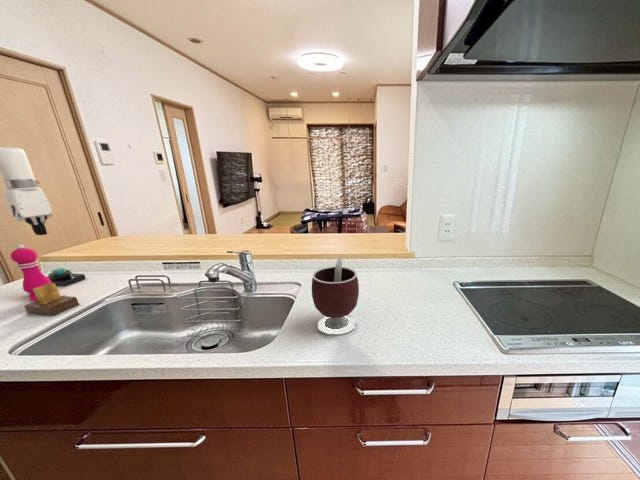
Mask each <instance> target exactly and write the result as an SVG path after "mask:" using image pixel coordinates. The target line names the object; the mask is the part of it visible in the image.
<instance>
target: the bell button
mask: <svg viewBox="0 0 640 480" xmlns="http://www.w3.org/2000/svg"><path fill="white" fill-rule="evenodd" d="M65 270H66V269H65V268H64V267H60V268H55V269H52V270H51V273H52V272H53V274H54V275H58V274H63V273H66V271H65Z"/></svg>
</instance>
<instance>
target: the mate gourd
mask: <svg viewBox="0 0 640 480" xmlns="http://www.w3.org/2000/svg"><path fill="white" fill-rule="evenodd" d="M342 261H343V256H342V255H339V258H338V259H337V262H336V263H335V266H328V267H327V266H326V267H323V268H320V269H317V270H316V271H314V272H313V273H312V279H311V296H312V301H313V305H314V308H315V310H317V311H318V312H319V313H320V314H321V315H322V316H323V317H324V316H326V317H330V318H328V319H326V321H325V326H326V327H328V328H331V329H340V328H343V327H345V326H347V325H348V323H347V322H349V321H348V319H347V318H345V317H344V316H346V315H350V314H351V313H352V312H353V311H354V309H355V308H356V307H357V305H358V302H359V294H360V284H359V279H358V273H357V271H356V270H354V269H352V268H349V267H344V266H343V264H342ZM345 319H346V320H345ZM316 328H317V329H316V330H317V331H318V332H319V333H320V334H323V335H325V336H330V337H341V336H346V335H348V334H350V333H352V332H353V331H354V330H355V329H356V328H357V325H356V326H355V328H354V329H352V330H351V331H349V332H347V333H343V334H327V333H324V332H322V331H320V330H319V329H318V327H317V326H316Z"/></svg>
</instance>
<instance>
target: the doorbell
mask: <svg viewBox="0 0 640 480" xmlns="http://www.w3.org/2000/svg"><path fill="white" fill-rule="evenodd" d="M65 271H66V273H63V274H58V275H54V274H53V272H52V271H51V272H49V273H48V276H46V277H47V278H49V279H50V280H51V282H52V283H55V285H56V287H63V288H64V287H68V286H71V285H73V284H77V283H79V282H82V281H84V280H86V279H87V278H86V276H85V274H84V273H72V270H71V269H65Z"/></svg>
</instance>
